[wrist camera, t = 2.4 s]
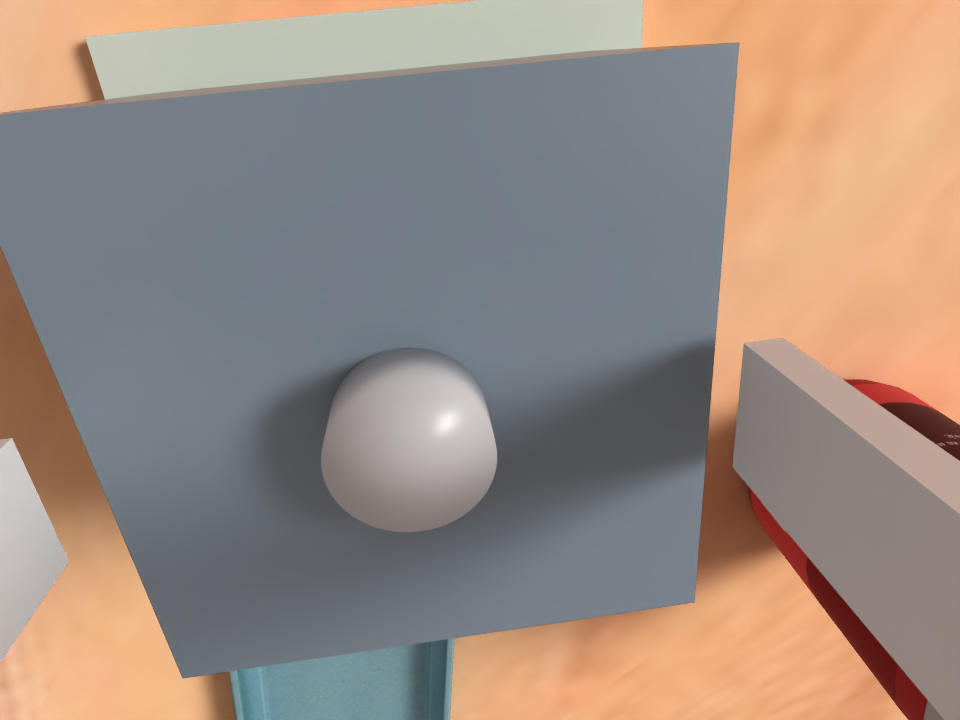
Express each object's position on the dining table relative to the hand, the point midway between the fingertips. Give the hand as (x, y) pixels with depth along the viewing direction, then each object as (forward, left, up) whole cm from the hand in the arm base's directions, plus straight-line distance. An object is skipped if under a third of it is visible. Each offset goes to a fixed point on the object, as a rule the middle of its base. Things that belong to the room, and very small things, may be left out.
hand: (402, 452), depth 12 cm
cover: (0, 0, -10) cm, 10 cm away
